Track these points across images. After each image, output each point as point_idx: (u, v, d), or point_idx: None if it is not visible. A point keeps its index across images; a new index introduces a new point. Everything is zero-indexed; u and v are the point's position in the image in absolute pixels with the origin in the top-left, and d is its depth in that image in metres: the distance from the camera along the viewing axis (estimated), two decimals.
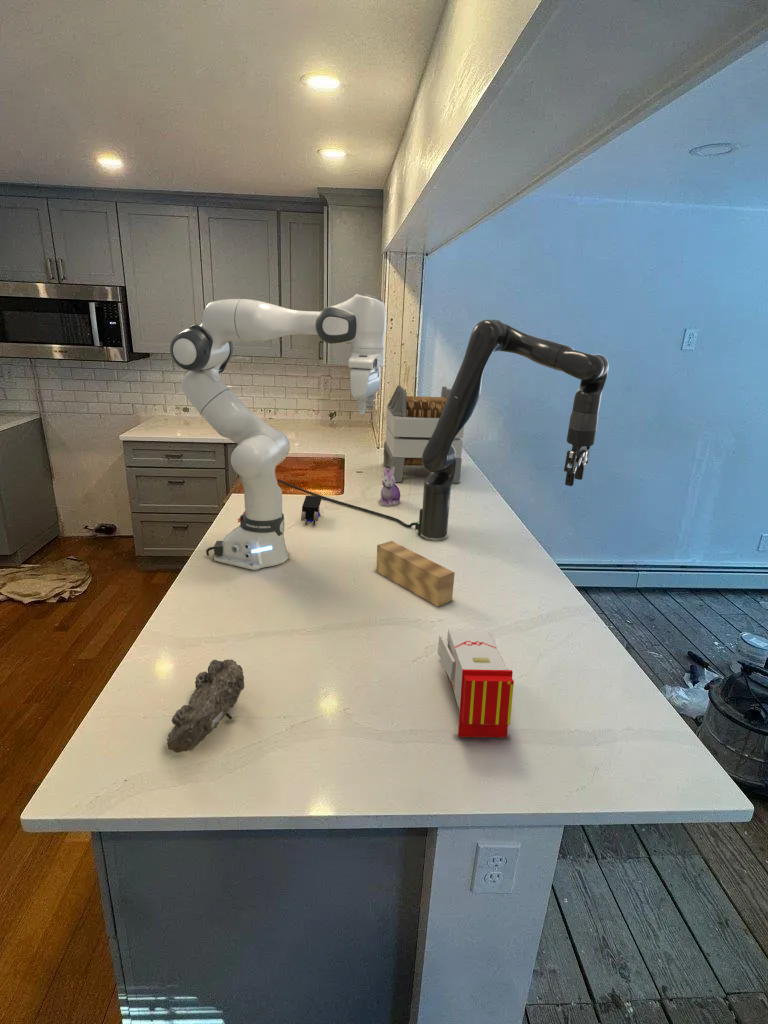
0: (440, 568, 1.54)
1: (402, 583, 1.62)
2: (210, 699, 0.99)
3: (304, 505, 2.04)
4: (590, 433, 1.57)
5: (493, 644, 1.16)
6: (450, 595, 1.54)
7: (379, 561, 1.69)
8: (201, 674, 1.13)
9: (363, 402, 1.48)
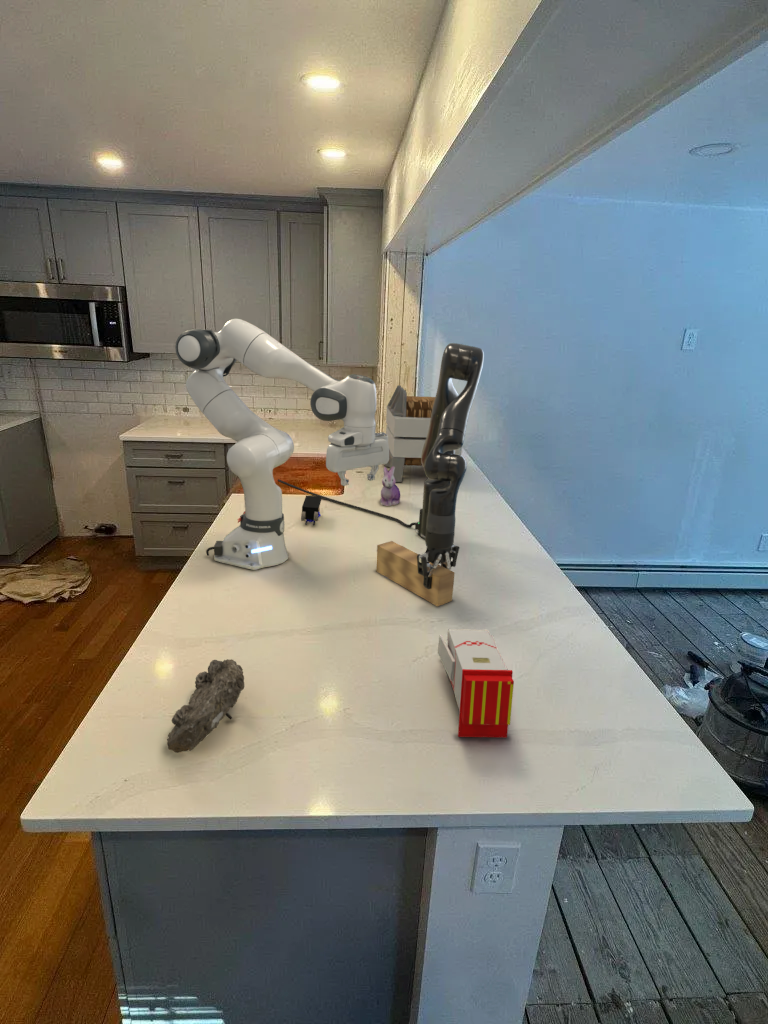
0: (440, 568, 1.54)
1: (402, 583, 1.62)
2: (210, 699, 0.99)
3: (304, 505, 2.04)
4: (442, 536, 1.46)
5: (493, 644, 1.16)
6: (450, 595, 1.54)
7: (379, 561, 1.69)
8: (201, 674, 1.13)
9: (341, 475, 1.57)
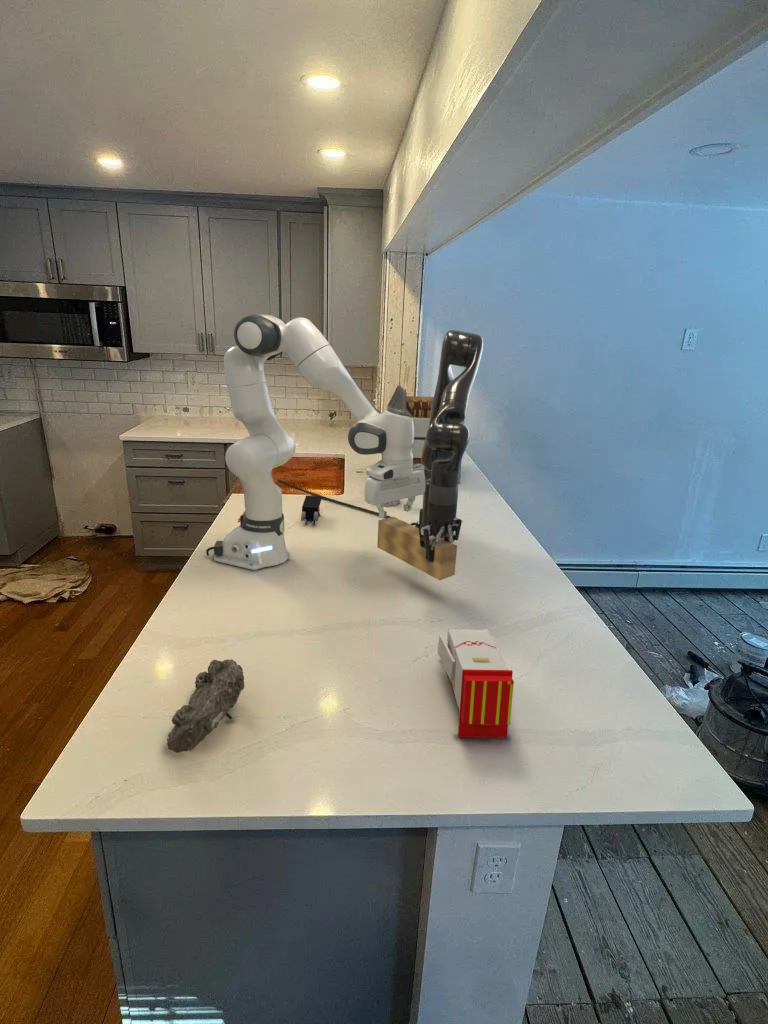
0: (443, 542, 1.52)
1: (404, 558, 1.59)
2: (210, 699, 0.99)
3: (304, 505, 2.04)
4: (444, 507, 1.44)
5: (493, 644, 1.16)
6: (453, 569, 1.52)
7: (380, 537, 1.66)
8: (201, 674, 1.13)
9: (379, 507, 1.58)
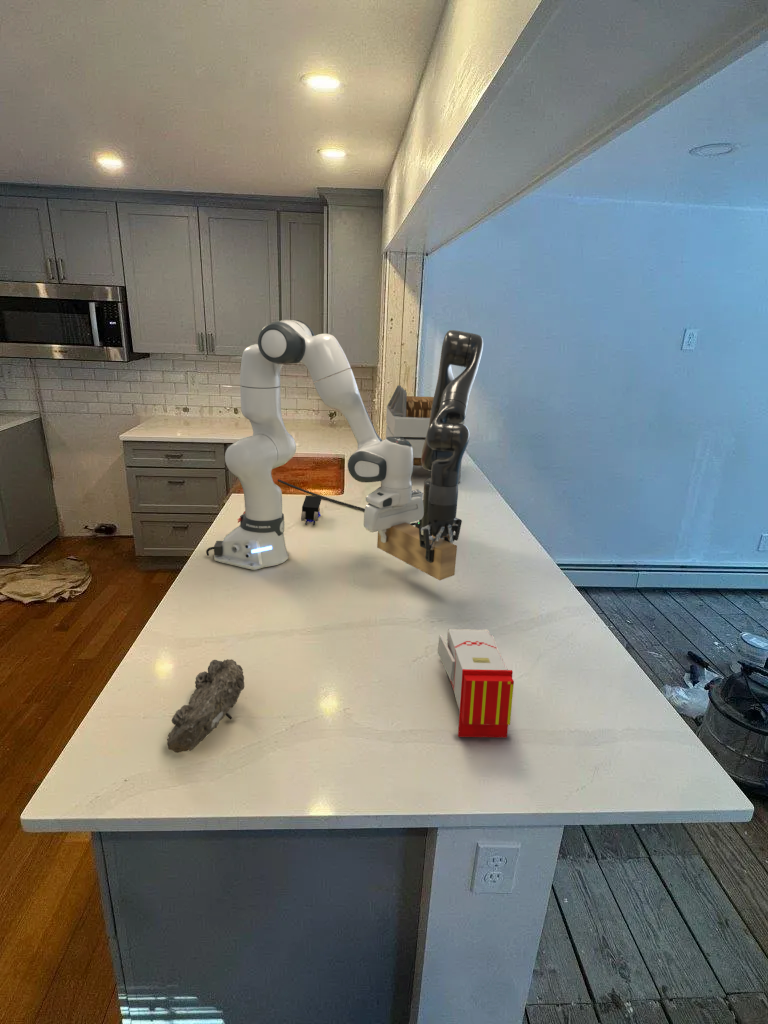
0: (443, 542, 1.52)
1: (404, 558, 1.59)
2: (210, 699, 0.99)
3: (304, 505, 2.04)
4: (444, 507, 1.44)
5: (493, 644, 1.16)
6: (452, 569, 1.52)
7: (380, 537, 1.66)
8: (201, 674, 1.13)
9: (381, 532, 1.61)
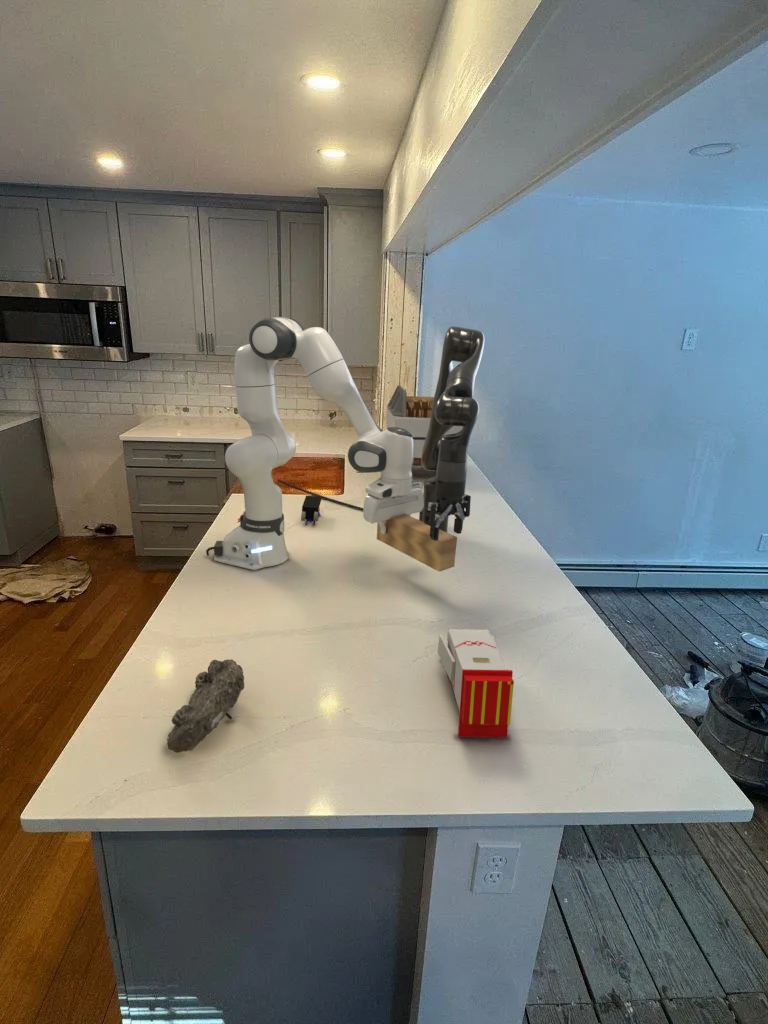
0: (443, 533, 1.51)
1: (403, 550, 1.58)
2: (210, 699, 0.99)
3: (304, 505, 2.04)
4: (453, 484, 1.39)
5: (493, 644, 1.16)
6: (452, 561, 1.51)
7: (379, 529, 1.65)
8: (201, 674, 1.13)
9: (381, 524, 1.60)
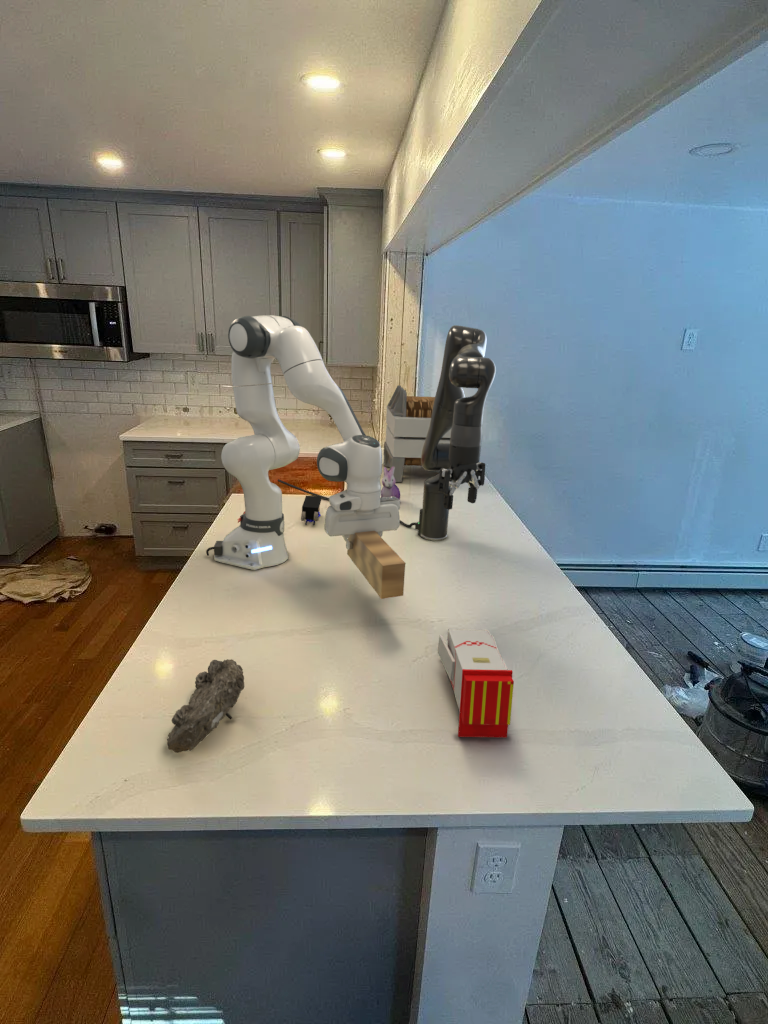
0: (393, 556, 1.35)
1: (361, 569, 1.45)
2: (210, 699, 0.99)
3: (304, 505, 2.04)
4: (468, 449, 1.34)
5: (493, 644, 1.16)
6: (400, 589, 1.34)
7: None
8: (201, 674, 1.13)
9: (344, 538, 1.49)
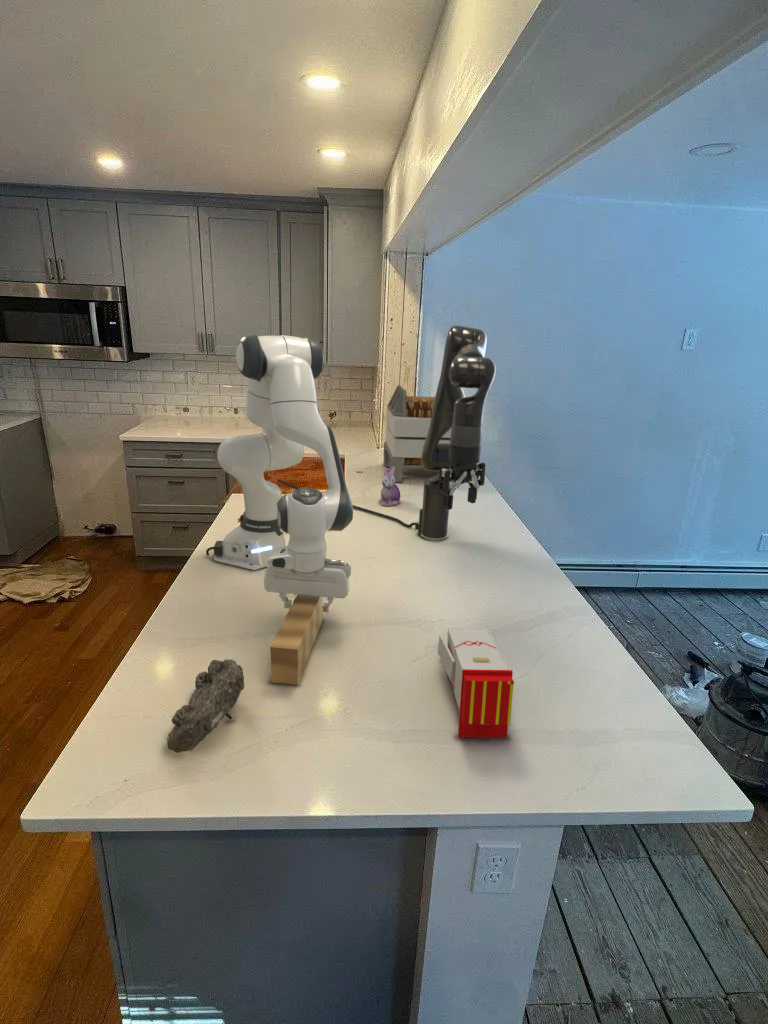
0: (295, 638, 1.19)
1: None
2: (210, 699, 0.99)
3: None
4: (468, 449, 1.34)
5: (493, 644, 1.16)
6: (293, 676, 1.18)
7: None
8: (201, 674, 1.13)
9: None
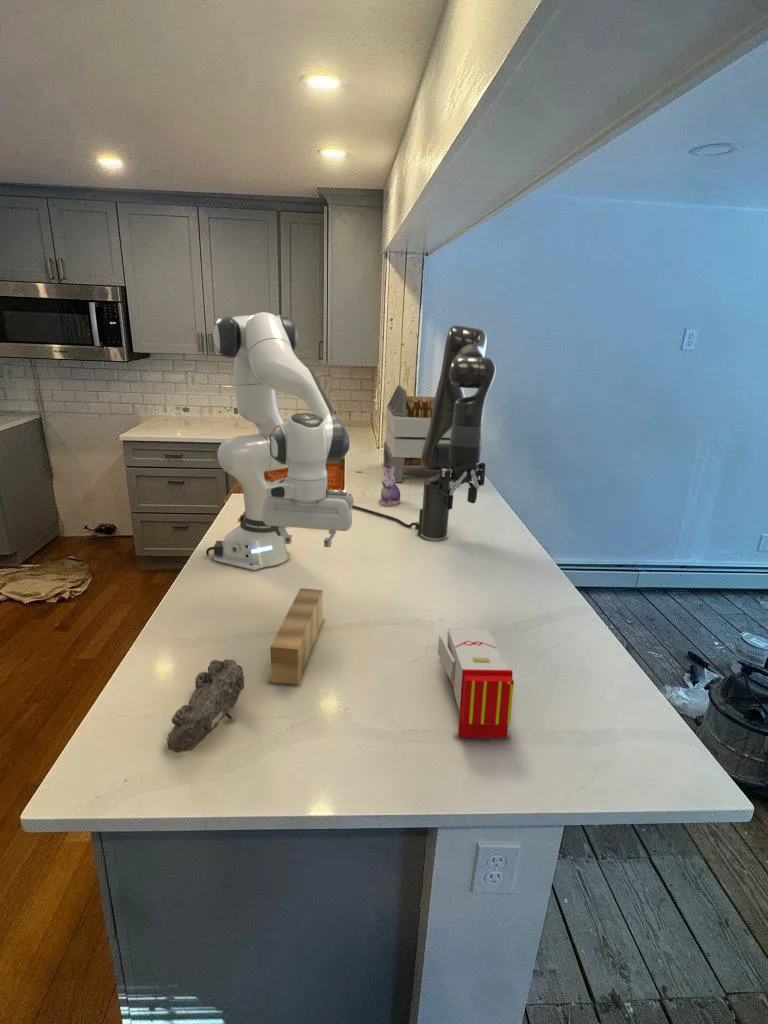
0: (295, 638, 1.19)
1: None
2: (210, 699, 0.99)
3: None
4: (468, 449, 1.34)
5: (493, 644, 1.16)
6: (293, 676, 1.18)
7: None
8: (201, 674, 1.13)
9: None
